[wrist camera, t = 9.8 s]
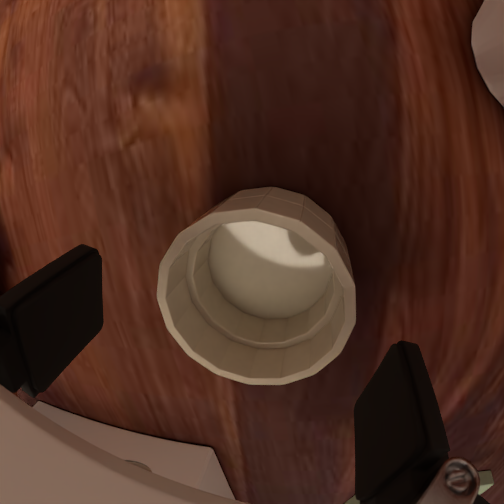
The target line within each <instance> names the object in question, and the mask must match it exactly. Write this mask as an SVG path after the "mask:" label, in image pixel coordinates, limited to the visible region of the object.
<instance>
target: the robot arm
mask: <svg viewBox="0 0 504 504" xmlns="http://www.w3.org/2000/svg"><path fill="white" fill-rule="evenodd" d="M102 326H103V300H102V258H101V256H100V255H99V252H98V250H97V249H95V248H92V247H89V246H87V245H84V244H81V245H79V246H77V247H75V248H74V249H72V250H70V251H69V252H67V253H65V254H64V255H62V256H61V257H59V258H57V259H56V260H54V261H53V262H51V263H49V264H48V265H46V266H45V267H43V268H42V269H40V270H38V271H37V272H35V273H34V274H32V275H31V276H29V277H28V278H26V279H25V280H23V281H22V282H20V283H19V284H17V285H16V286H14V287H13V288H11V289H10V290H9V291H7V292H6V293H4V294H3V295H1V296H0V504H249V503H245V502H241V501H237V500H233V499H230V498H226V497H222V496H219V495H215V494H212V493H209V492H205V491H202V490H199V489H196V488H193V487H190V486H187V485H184V484H181V483H178V482H176V481H173V480H170V479H168V478H165V477H162V476H160V475H157V474H155V473H152V472H150V471H148V470H145V469H143V468H140V467H138V466H136V465H134V464H131V463H129V462H127V461H125V460H123V459H121V458H119V457H116V456H114V455H112V454H110V453H108V452H106V451H104V450H102V449H100V448H99V447H97V446H95V445H93V444H91V443H89V442H87V441H86V440H84V439H82V438H80V437H78V436H77V435H75V434H73V433H71V432H70V431H68V430H66V429H65V428H63V427H61V426H60V425H58V424H56V423H55V422H53V421H52V420H50V419H49V418H47V417H46V416H44V415H42V414H41V413H39V412H38V411H37V410H35V409H34V408H32V407H31V406H29V405H28V404H26V403H25V402H24V401H22V400H21V399H20V398H18V397H17V390H18V389H19V388H20V387H21V388H22V390H23V391H24V392H26V393H27V394H29V395H30V396H32V397H33V398H35V396H36V395H37V394H38V393H39V392H44V391H45V390H46V389H47V388H48V387H49V386H50V385H51V383H52V382H53V381H54V380H55V379H56V378H57V377H58V376H59V375H60V373H61V372H62V371H63V370H64V369H65V368H66V367H67V366H68V365H69V364H70V363H71V361H72V360H73V359H74V358H75V357H76V356H77V355H78V354H79V353H80V352H81V351H82V350H83V349H84V347H85V346H86V345H87V344H88V343H89V342H90V341H91V340H92V339H93V338H94V337H95V336H96V335H97V334H98V333H99V332H100V330H101V329H102ZM354 426H355V497H356V499H357V500H360V504H490V503H488V502H487V501H486V500H485V499H484V498H482V497H481V496H480V495H479V494H478V492H479V488H480V476H479V473H478V471H477V469H476V467H475V466H474V465H473V464H472V463H471V462H470V461H468V460H466V459H465V458H461V457H451V458H449V457H448V453H447V452H449V451H450V448H449V444H448V440H447V436H446V432H445V428H444V424H443V421H442V417H441V414H440V410H439V407H438V403H437V400H436V397H435V393H434V390H433V387H432V384H431V381H430V378H429V375H428V372H427V369H426V366H425V363H424V360H423V357H422V354H421V351H420V348H419V346H418V345H417V344H414V343H410V342H406V341H399V342H398V343H397V344H393V345H392V346H391V347H390V349H389V350H388V352H387V354H386V356H385V357H384V359H383V361H382V362H381V364H380V366H379V367H378V369H377V370H376V372H375V374H374V375H373V377H372V378H371V380H370V382H369V383H368V385H367V386H366V388H365V389H364V391H363V392H362V394H361V395H360V397H359V398H358V400H357V402H356V404H355V407H354Z"/></svg>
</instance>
